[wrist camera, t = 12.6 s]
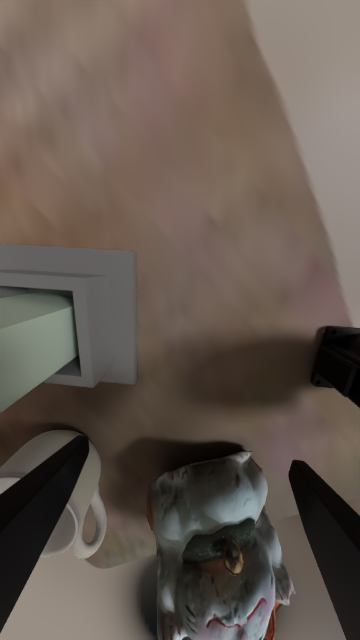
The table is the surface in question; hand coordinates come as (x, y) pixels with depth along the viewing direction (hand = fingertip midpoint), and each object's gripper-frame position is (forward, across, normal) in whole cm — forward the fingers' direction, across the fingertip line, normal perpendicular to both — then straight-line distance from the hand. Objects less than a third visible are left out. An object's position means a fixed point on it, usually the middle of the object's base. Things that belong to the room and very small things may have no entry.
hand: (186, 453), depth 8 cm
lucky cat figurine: (+12, -4, +19) cm, 23 cm away
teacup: (+12, +14, +18) cm, 26 cm away
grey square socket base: (+12, +13, -2) cm, 18 cm away
